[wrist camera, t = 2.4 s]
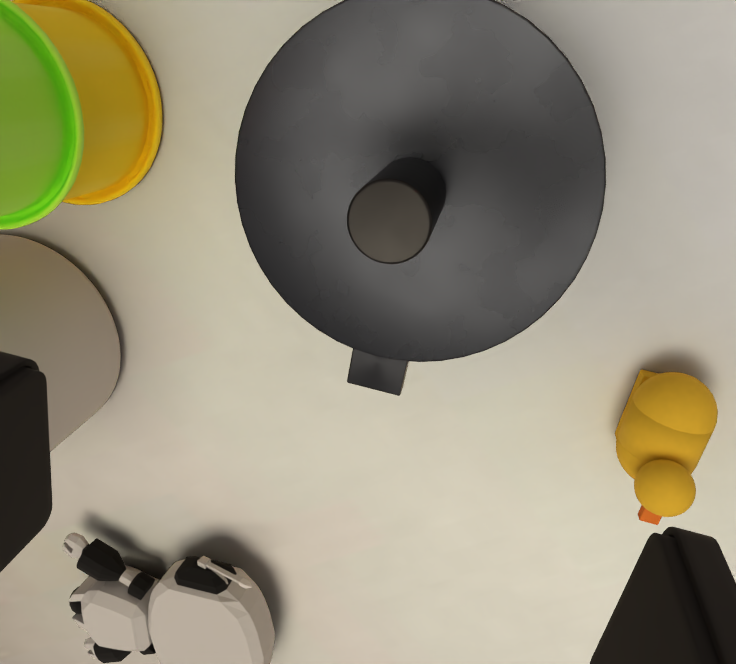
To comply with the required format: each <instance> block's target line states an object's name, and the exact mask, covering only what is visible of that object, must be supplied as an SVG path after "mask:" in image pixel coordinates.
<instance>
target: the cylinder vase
mask: <svg viewBox="0 0 736 664" xmlns="http://www.w3.org/2000/svg"><path fill="white" fill-rule="evenodd" d="M0 351H1V352H5V353H9V354H13V355H17V356H21V357H24V358H28V359H32V360H33V361H35V362H36V363H37V365H38V367H39V371H41V372H42V373H44V375H45V376H46V381H47V399H48V421H49V444H50V452H51V451H52V450H53V449H54V448H55V447H56V446H58V445H59V444H60V443H61V442H62V441H63V440H65V439H66V438H67V437H68V436H69V435H70V434H72V433H73V432H74V431H75V430H76V429H78V428H79V427H80V426H81V425H82V424H83V423H85V422H86V421H87V420H88V419H89V418H90V417H92V416H93V415H94V414H95V413H96V412H97V411H98V410H99V409H101V407H102V406H103V405H104V404H105V403H106V402H107V400H108V399H109V397H110V396H111V394H112V392H113V390H114V388H115V385H116V382H117V379H118V375H119V370H120V360H121V354H120V343H119V337H118V333H117V329H116V326H115V323H114V320H113V318H112V315H111V313H110V311H109V309H108V307H107V305H106V303H105V301H104V300H103V298H102V296H101V295H100V293H99V292H98V291H97V289H96V288H95V286H94V285H93V284H92V283H91V282H90V280H89V279H88V278H87V277H86V276H85V275H84V274H83V273H82V272H81V271H80V270H79V269H78V268H77V267H76V266H75V265H73V264H72V263H71V262H70V261H68V260H67V259H66V258H64V257H63V256H62V255H60V254H58V253H57V252H55V251H54V250H52V249H50V248H48V247H46V246H44V245H42V244H40V243H37V242H35V241H32V240H29V239H26V238H22V237H17V236H12V235H1V234H0Z"/></svg>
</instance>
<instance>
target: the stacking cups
mask: <svg viewBox="0 0 736 664" xmlns="http://www.w3.org/2000/svg"><path fill="white" fill-rule="evenodd" d="M162 121H163V120H162V104H161V97H160V92H159V87H158V84H157V81H156V78H155V75H154V72H153V70H152V68H151V65H150V63H149V61H148V59H147V57H146V55H145V53H144V52H143V50H142V49H141V47H140V45H139V44H138V43H137V41H136V40H135V39H134V38H133V36H132V35H131V34H130V32H129V31H128V30H127V29H126V28H125V27H124V26H123V25H122V24H121V23H120V22H119V21H118V20H117V19H116V18H114V17H113V16H112V15H111V14H110V13H108V12H107V11H105V10H104V9H103V8H101V7H99V6H97V5H96V4H94V3H92V2H90V1H87V0H13V1H10V0H0V230H3V229H5V230H7V229H14V228H19V227H22V226H25V225H29V224H31V223H34V222H36V221H38V220H40V219H42V218H43V217H45V216H47V215H48V214H49V213H50V212H52V211H53V210H54V209H55V208H56V207H57V206H58V205H59V204H60V203H61V202H65V203H70V204H76V205H94V204H100V203H103V202H107V201H110V200H113V199H116V198H118V197H120V196H122V195H123V194H125V193H126V192H128V191H129V190H131V189H132V188H133V187H135V186H136V185H137V184H138V183H139V182H140V181H141V180H142V179H143V177H144V176H145V175H146V173H147V172H148V170H149V169H150V167H151V165H152V163H153V161H154V159H155V156H156V153H157V150H158V147H159V144H160V139H161V133H162Z"/></svg>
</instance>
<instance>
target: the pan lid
mask: <svg viewBox="0 0 736 664" xmlns="http://www.w3.org/2000/svg"><path fill="white" fill-rule="evenodd" d="M235 184H236V194H237V203H238V208H239V212H240V217H241V221H242V225H243V228H244V231H245V234H246V237H247V240H248V242H249V245H250V248H251V250H252V252H253V254H254V256H255V258H256V260H257V262H258V264H259V266H260V268H261V269H262V271H263V272H264V274H265V275H266V277H267V278H268V280H269V282H270V283H271V285H272V286H273V287H274V288H275V290H276V291H277V292H278V293H279V294H280V296H281V297H282V298H283V299H284V301H285V302H286V303H287V304H288V305H289V306H290V307H291V308H292V309H294V310H295V311H296V312H297V313H298V314H299V315H300V316H301V317H302V318H303V319H305V320H306V321H307V322H309V323H310V324H311V325H312V326H314V327H315V328H316V329H318V330H319V331H321V332H323V333H324V334H326V335H328V336H329V337H331V338H333V339H334V340H336V341H338V342H340V343H342V344H345V345H347V346H349V347H351V348H354V349H356V350H359V351H362V352H365V353H368V354H371V355H375V356H378V357H383V358H389V359H394V360H401V361H416V362H425V361H443V360H448V359H454V358H460V357H465V356H468V355H471V354H475V353H478V352H481V351H485V350H487V349H489V348H492V347H494V346H496V345H498V344H501V343H503V342H505V341H507V340H509V339H510V338H512V337H514V336H515V335H517V334H519V333H520V332H522V331H524V330H525V329H526V328H528V327H529V326H530V325H532V324H533V323H534V322H535V321H537V320H538V319H539V318H541V317H542V316H543V315H544V314H545V313H546V312H547V311H548V310H549V309H550V308H551V307H552V306H553V305H554V304H555V303H556V302H557V301H558V300H559V299H560V298H561V296H562V295H563V294H564V292H565V291H566V290H567V289H568V287H569V286H570V285H571V283H572V282H573V281H574V279H575V278H576V276H577V274H578V272H579V271H580V269H581V267H582V265H583V264H584V262H585V260H586V258H587V256H588V254H589V251H590V249H591V246H592V244H593V242H594V239H595V237H596V234H597V230H598V226H599V222H600V219H601V215H602V211H603V204H604V196H605V188H606V159H605V152H604V145H603V139H602V132H601V129H600V125H599V122H598V119H597V115H596V112H595V109H594V106H593V103H592V101H591V99H590V97H589V95H588V93H587V90H586V88H585V86H584V84H583V82H582V80H581V79H580V77H579V75H578V74H577V72H576V71H575V69H574V68H573V66H572V65H571V63H570V62H569V60H568V59H567V57H566V56H565V55H564V54H563V53H562V52H561V50H560V49H559V48H558V47H557V46H556V45H555V44H554V43H553V41H552V40H551V39H550V38H549V37H548V36H547V35H546V34H544V33H543V32H542V31H541V30H540V29H539V28H537V27H536V26H535V25H534V24H533V23H531V22H530V21H529V20H528V19H526V18H525V17H523V16H521V15H520V14H518V13H517V12H515V11H513V10H512V9H510V8H509V7H507V6H505V5H503V4H501V3H499V2H496V1H494V0H344V1H342V2H340V3H338V4H336V5H334V6H333V7H331V8H329V9H327V10H325V11H323V12H322V13H320V14H319V15H317V16H316V17H315V18H313V19H312V20H311V21H309V22H308V23H306V24H305V25H304V26H302V27H301V28H300V29H299V30H298V31H297V32H296V33H295V34H294V35H293V36H292V37H291V38H290V39H289V40H288V41H287V42H286V43H285V44H284V45H283V46H282V47H281V48H280V50H279V51H278V52H277V53H276V55H275V56H274V57H273V58H272V60H271V61H270V62H269V64H268V65H267V67H266V68H265V70H264V72H263V73H262V75H261V77H260V79H259V80H258V82H257V84H256V85H255V87H254V90H253V92H252V95H251V97H250V99H249V102H248V104H247V106H246V109H245V112H244V116H243V119H242V123H241V127H240V130H239V135H238V142H237V149H236V157H235Z"/></svg>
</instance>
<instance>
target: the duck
mask: <svg viewBox="0 0 736 664" xmlns="http://www.w3.org/2000/svg"><path fill="white" fill-rule="evenodd" d="M717 414H718V410H717V404H716V402H715V399H714V397H713V394H712V393H711V392H710V390H709V389H708V388H707V387H706V386H705V385H704V384H703V383H702V382H701V381H699V380H698V379H696V378H694V377H692V376H690V375H687V374H684V373H679V372H666V373H660V374H659V373H654V372H650V371H646V370H642V369H641V370H640V372H639V374H638V377H637V379H636V382H635V384H634V387H633V389H632V392H631V394H630V397H629V399H628V402H627V404H626V407H625V409H624V412H623V414H622V416H621V419H620V421H619V424H618V426H617V429H616V431H615V436H616V439H617V440H616V452H617V456H618V459H619V461H620V463H621V465H622V467H623V469H624V470H625V471H626V472H627V473H628V474H629V475H630V476H631V477H632V478H633V479H635V481H634V489H635V494H636V496H637V498H638V500H639V502H640V503H641V504H642V506H641V508H640V510H639V512H638V516H639V520H641V521H645V522H648V523H652V524H656V525H658V524H659V521H660V519H661V517H662V516H663V517H673V516H677V515H680V514H682V513H684V512H685V511H686V510H687V509H689V508H690V506H691V505H692V503H693V501H694V499H695V494H696V488H695V483H694V480H693V478H692V476H691V474H692V472H693V471H694V469H695V468H696V466H697V464H698V462H699V460H700V458H701V456H702V454H703V451H704V449H705V447H706V445H707V443H708V441H709V439H710V437H711V435H712V433H713V431H714V428H715V426H716V423H717Z"/></svg>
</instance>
